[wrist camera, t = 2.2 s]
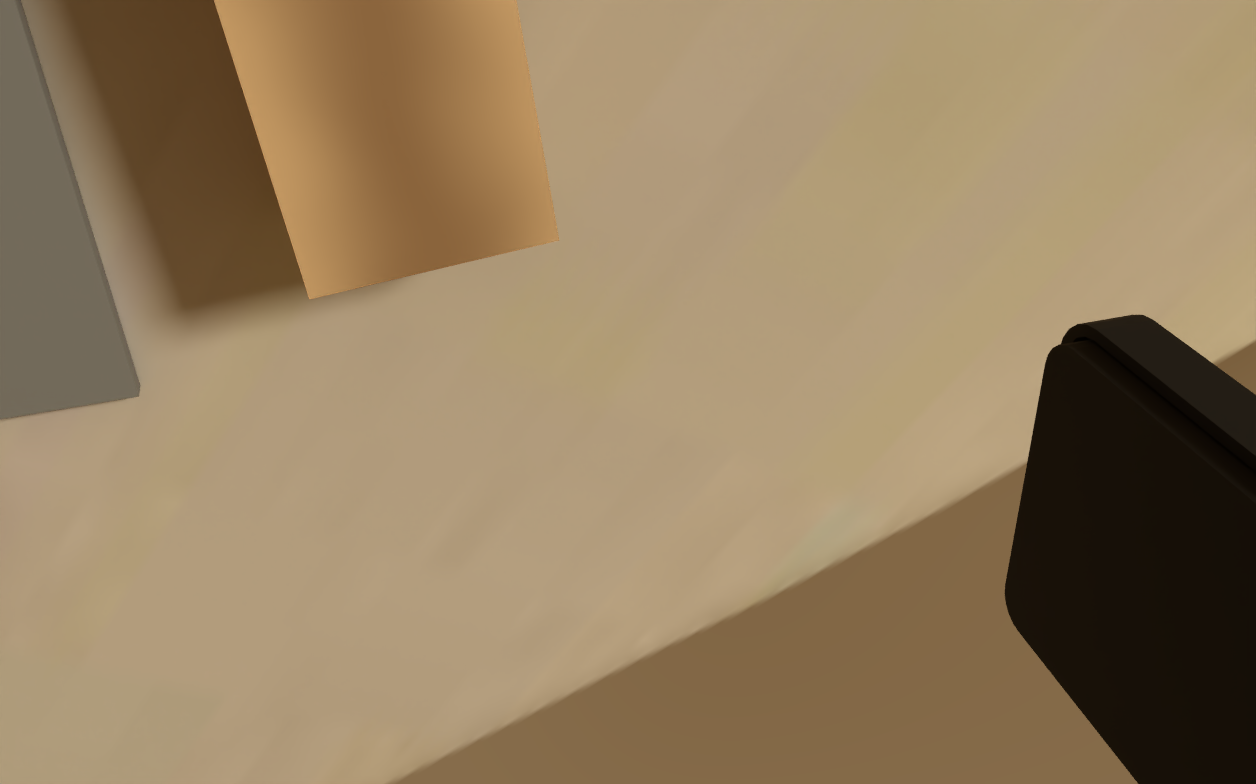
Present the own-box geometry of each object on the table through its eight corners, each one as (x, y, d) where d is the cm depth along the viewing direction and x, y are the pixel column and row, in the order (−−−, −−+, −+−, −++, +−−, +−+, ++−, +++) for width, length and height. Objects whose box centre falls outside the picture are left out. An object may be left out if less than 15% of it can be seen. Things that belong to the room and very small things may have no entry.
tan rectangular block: (434, -288, 24) (466, -277, 21) (521, 167, 30) (559, 240, 26) (160, -242, 23) (143, -223, 20) (302, 216, 29) (309, 298, 25)
